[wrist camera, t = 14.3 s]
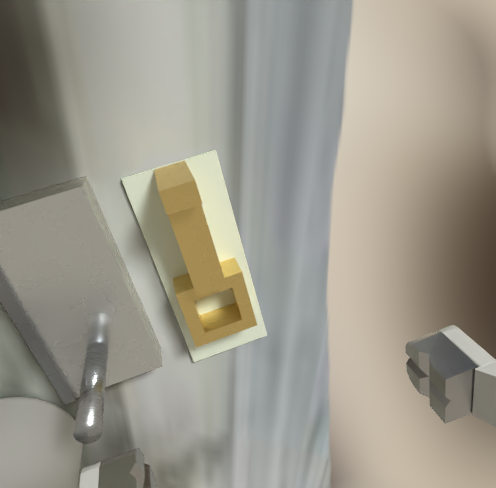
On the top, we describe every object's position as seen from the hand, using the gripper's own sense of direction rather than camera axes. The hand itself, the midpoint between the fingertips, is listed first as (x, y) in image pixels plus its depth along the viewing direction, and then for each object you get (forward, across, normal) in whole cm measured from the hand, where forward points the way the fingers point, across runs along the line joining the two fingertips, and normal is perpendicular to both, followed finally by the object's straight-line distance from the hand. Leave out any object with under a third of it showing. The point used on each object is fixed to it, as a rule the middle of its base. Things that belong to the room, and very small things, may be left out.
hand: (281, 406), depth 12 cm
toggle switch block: (+26, +12, +8) cm, 29 cm away
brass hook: (+25, +1, +8) cm, 26 cm away
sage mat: (+26, +1, +10) cm, 27 cm away
